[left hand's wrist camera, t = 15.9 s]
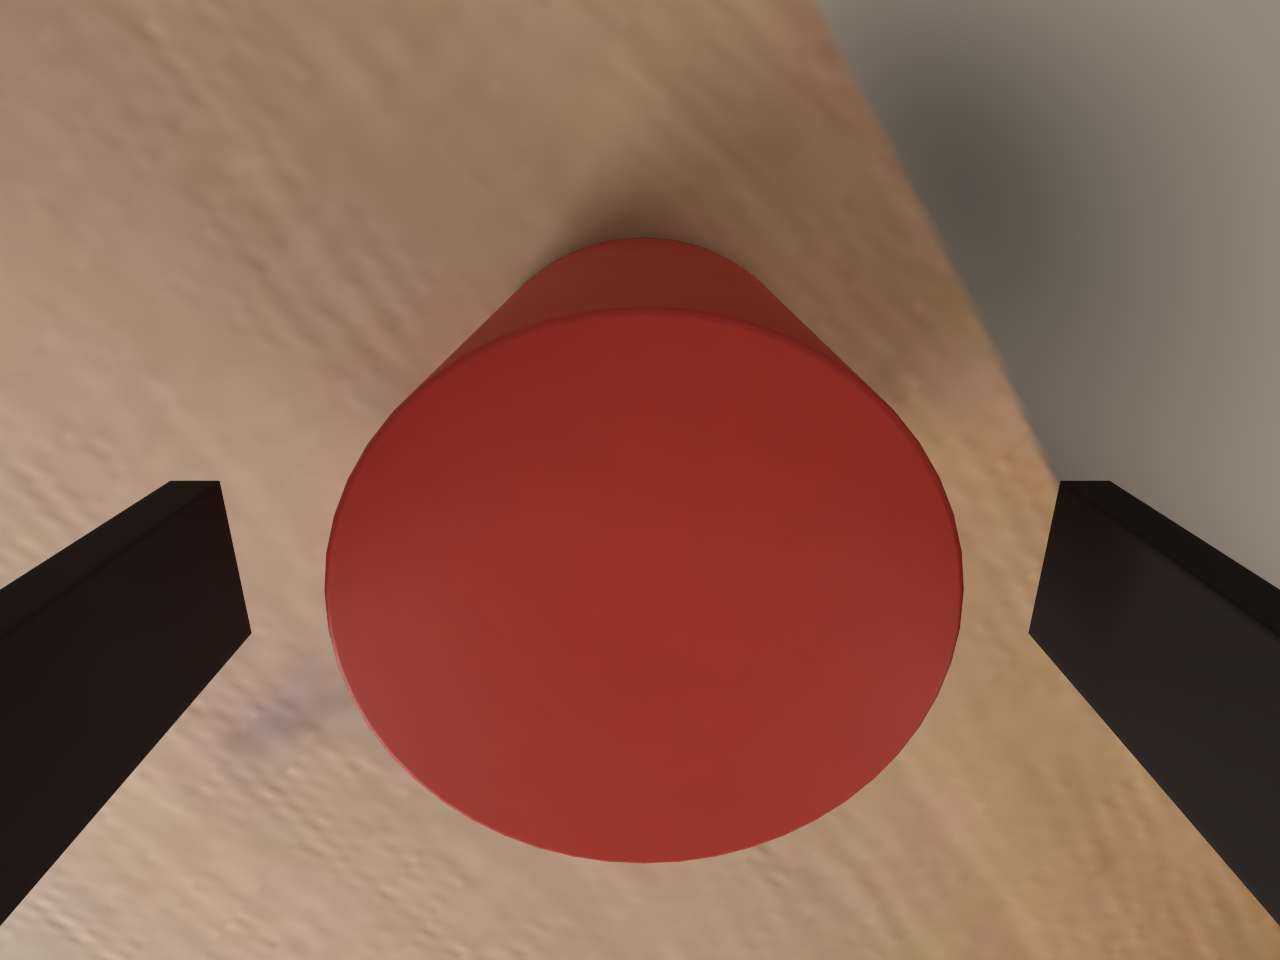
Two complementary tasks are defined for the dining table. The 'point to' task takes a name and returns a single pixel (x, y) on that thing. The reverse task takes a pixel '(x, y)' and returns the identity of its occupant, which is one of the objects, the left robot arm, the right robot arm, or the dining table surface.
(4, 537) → the dining table surface
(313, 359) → the dining table surface
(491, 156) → the dining table surface
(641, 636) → the can
